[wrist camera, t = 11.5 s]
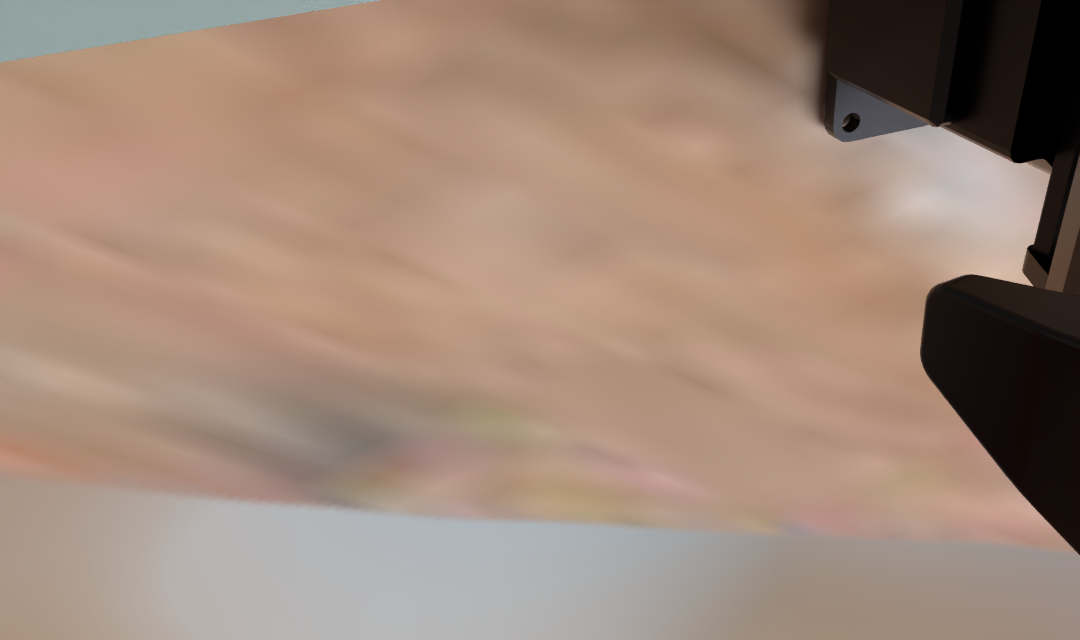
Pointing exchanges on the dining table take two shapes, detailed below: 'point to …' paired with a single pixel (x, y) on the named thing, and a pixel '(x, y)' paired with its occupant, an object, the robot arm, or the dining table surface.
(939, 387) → the robot arm
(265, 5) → the socket plate
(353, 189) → the dining table surface
